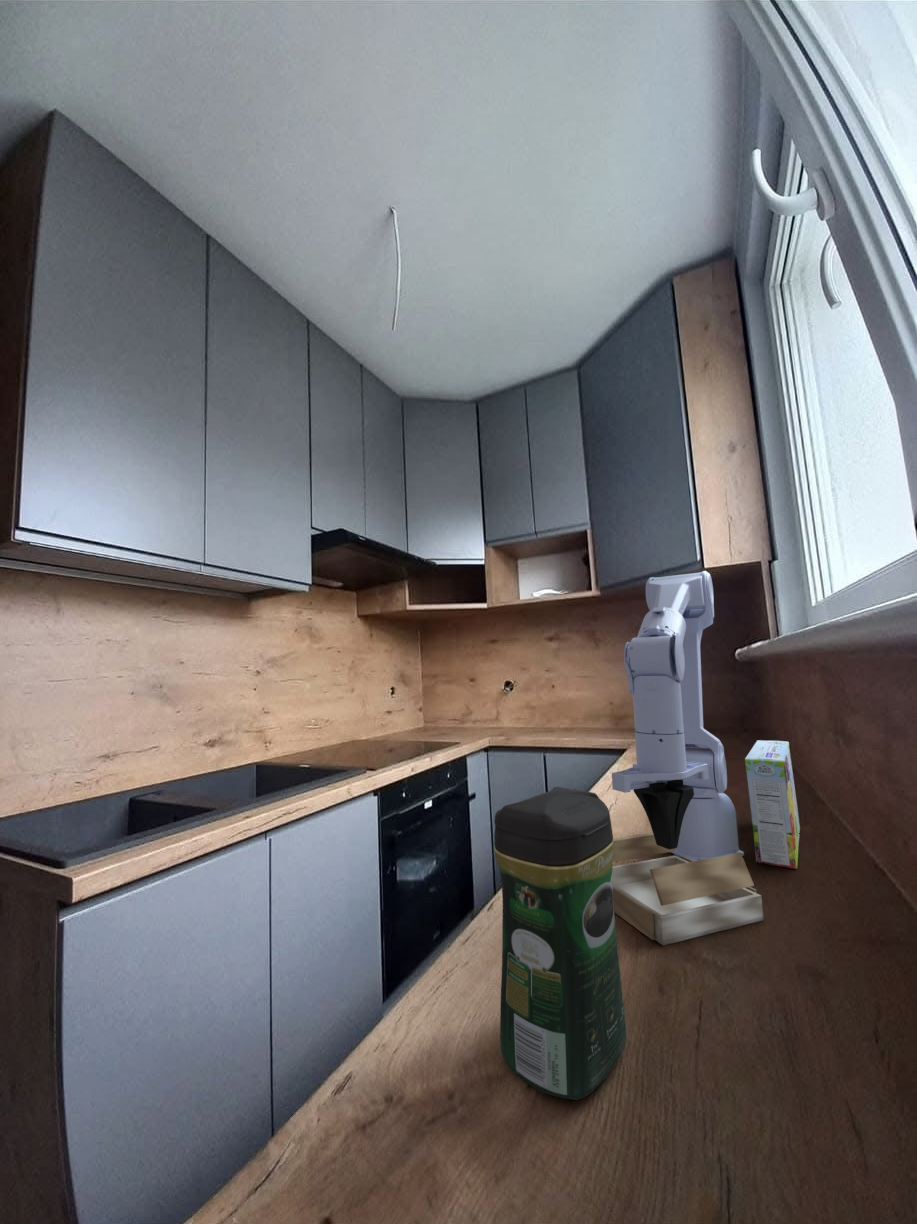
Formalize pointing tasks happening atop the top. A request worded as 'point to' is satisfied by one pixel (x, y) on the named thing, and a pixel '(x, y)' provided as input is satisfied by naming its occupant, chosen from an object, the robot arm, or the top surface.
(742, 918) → the carton
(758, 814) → the snack box
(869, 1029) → the top surface
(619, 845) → the flap
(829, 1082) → the top surface
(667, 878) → the flap
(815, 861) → the top surface
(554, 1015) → the coffee jar
